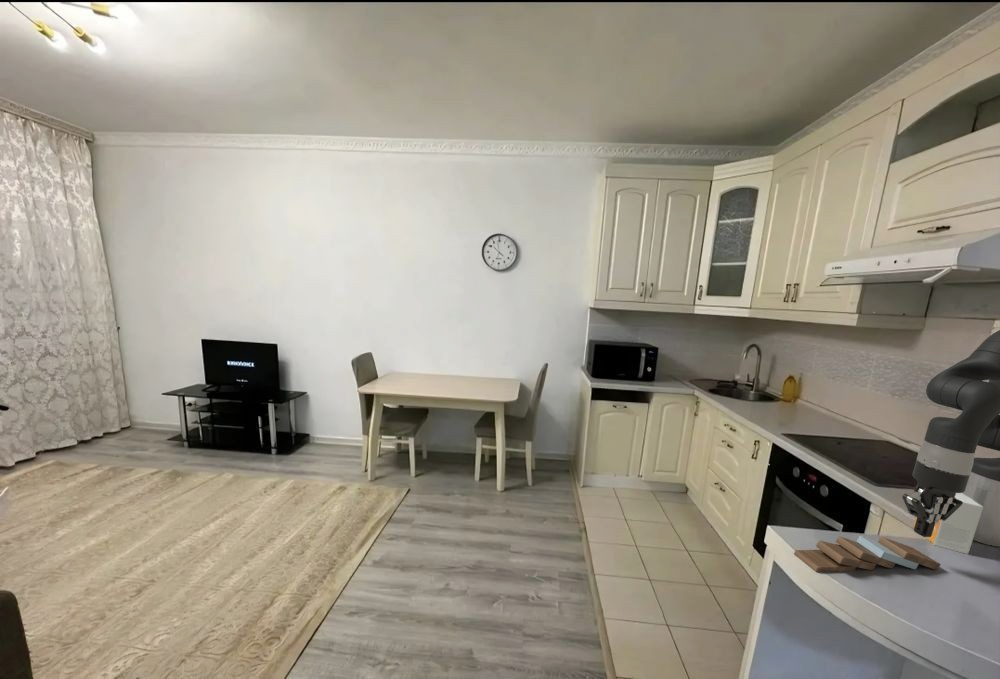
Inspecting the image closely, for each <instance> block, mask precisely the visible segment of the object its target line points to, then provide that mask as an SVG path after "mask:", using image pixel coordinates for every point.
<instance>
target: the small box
mask: <svg viewBox="0 0 1000 679" xmlns="http://www.w3.org/2000/svg"><path fill="white" fill-rule="evenodd" d="M955 498H956V499H958V500H960V501H962V502H963V504H962V505H961V506H960V507H959V508H958V509H957V510H956V511H955V512H954V513H953V514H952V515H951V516H950V517H949V518H947V519H946V520H945V521H943V520H940V521H939V522H938V523H935V526H934V529H933V533H932V536H931V537H925V538H926V539H927V540H928V541H929V542H930V541H931V542H932V543H933V544H932V543H931V542H930V543H931V544H932V545H933V546H935V547H940V548H942V549H946V548H947V550H951V551H955V552H958V553H962V554H965V555H969V553H970V549H971V547H972V544H973V541H974V540H973V538H974V535H975V532H976V529H977V525H978V522H979V519H980V516H981V513H982V510H983V506H981V505H980V504H978V503H977V502H975V501H974V500H973V499H971V498H970V497H968V496H966V495H964V494H963V493H956V495H955ZM916 520H917V517H916V516H915V519H914V523H913V527H915V524H916Z"/></svg>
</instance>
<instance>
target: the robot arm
mask: <svg viewBox="0 0 1000 679" xmlns="http://www.w3.org/2000/svg"><path fill="white" fill-rule="evenodd" d="M925 393H926V396H927V398H928V399H929V401H931V402H933V403H934V404H938V405H939V406H944V407H947V408H951V409H954V410H957V411H958V410H959V411H961V413H960V414H959V415H958V416H957V417H956V418H954V417H947V416H936V417H933V418H931V419H930V421H929V422H928V425H927V429H926V431H925V432H926V433H925V436H924V439H923V441H922V444H921V445H920V447H919V450H918V454H917V455H916V460H915V463H914V464H915V465H914V468H913V471H912V473H911V474H912V477H913V478H914V479H915V480H916V482H917V484H916V485H915V486H914V489H913V493H911V494H910V495H909V494H907V493H903V495H902V497H901V498H902V500H903V502H904V505H905V506H906V509H907V511H908V513H909V514H910V515H912V516H914V517H915V518H916V517H917V520H916V524H915V527H914V526H913V527H914V528H913V531H914V532H915V533H916V534H917V535H919V536H921V537H923V538H926V537H931V536H932V533H933V529H934V526H935V523H938V522H939V521H940V520H943V521H945V520H946V519H947V518H949V517H950V516H951V515H952V514H953V513H954V512H955V511H956V510H957V509H958V508H959V507H960V506H961V505H962V504H963V502H962V501H960V500H958V499H956V498H955V495H956V493H963V494H964V495H966V496H968V497H970V498H971V499H973V500H974V501H975V502H977V503H978V504H980V505H981V506H983V510H982V513H981V516H980V519H979V522H978V525H977V529H976V532H975V535H974V538H973V541H975V542H978V543H980V544H984V545H987V546H991V545H992V547H996V546H1000V457H975V453H976V450H977V447H981V448H985V449H990V450H994V451H998V452H1000V329H998V330H997V331H995V332H993V333H991V335H988V337H986V339H984V340H983V342H981V343H980V344H979V346H978V347H976V349H975V350H974V351H973V352H972V353H971V354H970V355H969V356H968V357H966V358H964V359H962V360H960V361H959V362H957V363H955V364H954V365H952V366H950V367H948V368H946V369H944V370H943V371H941V372H939V373H938V374H936V375H934V377H932V378H931V379H930V380H929V382H928V384H927V386H926V388H925Z"/></svg>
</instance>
